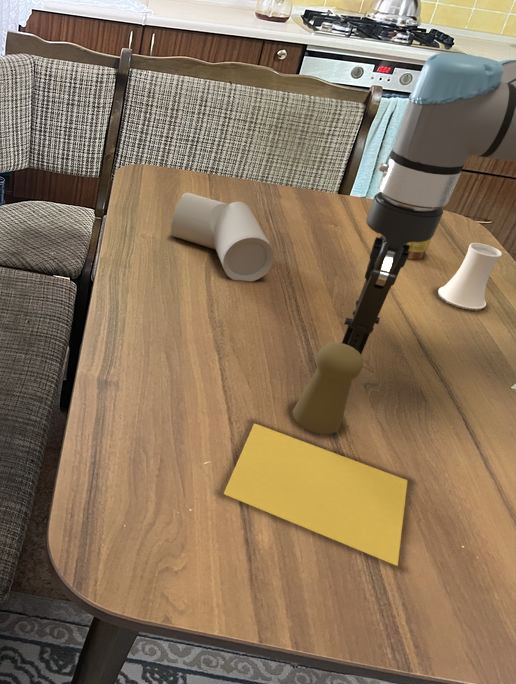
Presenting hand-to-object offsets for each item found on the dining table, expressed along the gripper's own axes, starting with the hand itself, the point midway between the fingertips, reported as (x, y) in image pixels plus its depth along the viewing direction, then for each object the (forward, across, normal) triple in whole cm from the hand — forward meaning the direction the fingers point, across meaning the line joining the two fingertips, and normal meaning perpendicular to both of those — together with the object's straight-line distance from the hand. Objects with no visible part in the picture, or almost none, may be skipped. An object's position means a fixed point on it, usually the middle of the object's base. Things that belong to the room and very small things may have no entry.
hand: (344, 364), depth 92 cm
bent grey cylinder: (+3, -29, -25) cm, 38 cm away
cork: (+4, +10, -1) cm, 11 cm away
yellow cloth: (+3, +22, +1) cm, 23 cm away
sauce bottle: (+4, -54, +6) cm, 54 cm away
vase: (+4, -38, +15) cm, 42 cm away
